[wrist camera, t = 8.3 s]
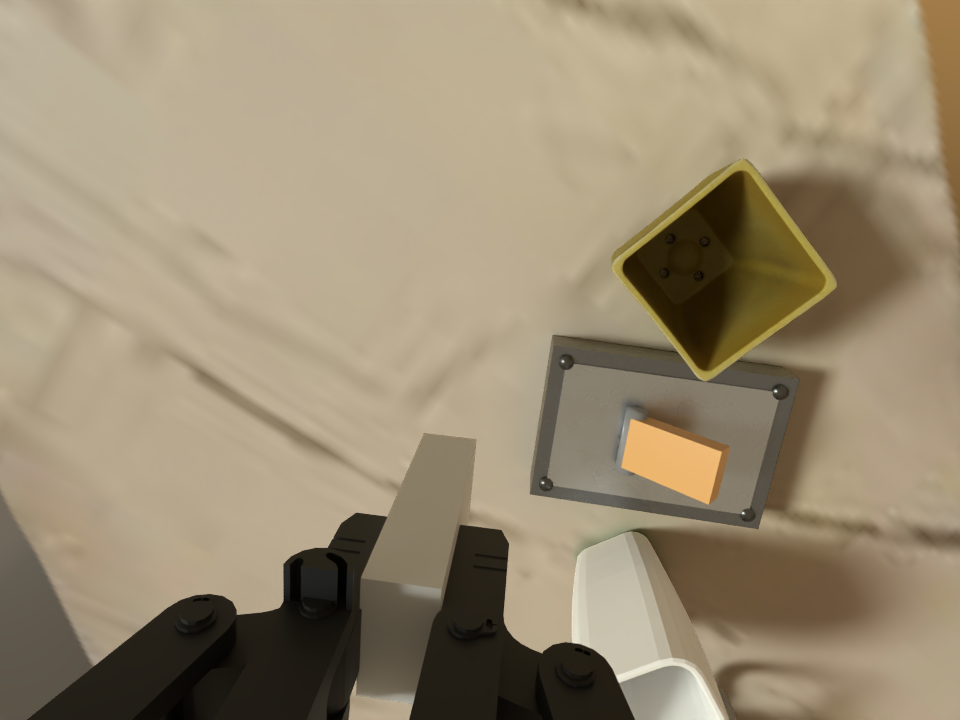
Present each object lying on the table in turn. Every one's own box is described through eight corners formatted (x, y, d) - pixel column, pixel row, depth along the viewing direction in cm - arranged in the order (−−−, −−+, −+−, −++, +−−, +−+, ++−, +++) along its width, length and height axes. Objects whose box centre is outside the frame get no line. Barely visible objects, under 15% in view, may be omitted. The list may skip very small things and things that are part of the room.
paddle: (622, 408, 40) (723, 444, 36) (632, 404, 41) (731, 439, 37) (610, 469, 41) (707, 511, 37) (621, 464, 43) (715, 504, 38)
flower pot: (779, 266, 41) (844, 286, 32) (671, 347, 43) (704, 386, 35) (701, 161, 40) (746, 153, 31) (592, 250, 42) (607, 265, 33)
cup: (598, 619, 49) (622, 792, 35) (557, 546, 48) (565, 696, 34) (683, 586, 48) (745, 753, 34) (644, 509, 47) (691, 650, 32)
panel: (552, 335, 44) (553, 346, 41) (781, 366, 43) (800, 380, 40) (530, 475, 47) (530, 495, 44) (744, 507, 46) (759, 530, 43)
